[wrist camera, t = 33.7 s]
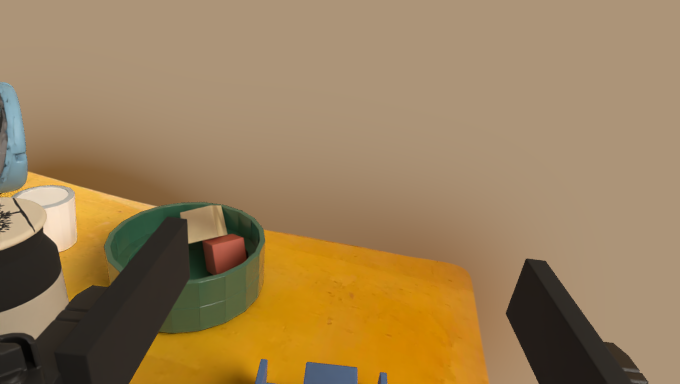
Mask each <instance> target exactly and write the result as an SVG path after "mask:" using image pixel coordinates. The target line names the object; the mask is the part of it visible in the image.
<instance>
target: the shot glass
mask: <svg viewBox="0 0 680 384" xmlns="http://www.w3.org/2000/svg"><path fill="white" fill-rule="evenodd" d="M11 198H20V199H26V200H30V201H33V202H35V203H37V204H39V205H41V206H42V207H43V208H44V209H45V211H46V214H47V219H46V222H45V224H44V225H43V233H45V234H46V235H47V236H48V237H49V238H50V239H51V240H52V241H53V242H55V244H56V245H57V247H58V252H61V251H64V250H66V249H68V248H70V247H72V246H73V245H74V244H75V243H76V242H77V226H76V208H75V192H74V191H73V190H72V189H71V188H68V187H65V186H57V185H47V186H38V187H33V188H28V189H26V190H23V191H20V192H18V193H16V194H15V195H13V196H12V197H11Z"/></svg>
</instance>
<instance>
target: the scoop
mask: <svg viewBox="0 0 680 384" xmlns="http://www.w3.org/2000/svg"><path fill="white" fill-rule="evenodd" d="M267 361H268V360H265V359H261V362H260V366H259V370H258V373H257V377H256V381H255V384H274V383H266V378H267ZM304 384H357V368H356V367H348V366H339V365H330V364H321V363H312V362H307V363H306V369H305V377H304ZM378 384H387V374H386V373H383V372H380V376H379V380H378Z"/></svg>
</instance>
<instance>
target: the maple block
mask: <svg viewBox="0 0 680 384" xmlns="http://www.w3.org/2000/svg"><path fill="white" fill-rule="evenodd" d="M180 215H181V218H183V219H187V225H188V244H190V243H194V242H199V241H203V240H207V239H211V238H216V237H220V236H224V235H227V230H226V225H225V221H224V216H223V212H222V208H221V205H210V206H206V207H202V208H198V209H193V210H189V211H185V212H181V213H180Z"/></svg>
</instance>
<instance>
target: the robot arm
mask: <svg viewBox="0 0 680 384" xmlns="http://www.w3.org/2000/svg"><path fill="white" fill-rule="evenodd" d="M25 152H26V142H25V134H24V127H23V121H22V115H21V110H20V105H19V101H18V97H17V94H16V92H15V90H14V89H13V87H12V86H11V85H10V84H8V83H5V82H0V193H5V192H11V191H15V190H18V189H20V188H21V187H22V186H23V185H24V184H25V182H26V180H27V172H28V166H27V156H26V154H25ZM189 278H190V267H189V246H188V225H187V219H183V218H175V217H166V219H165V220H164V221H163V222H162V223H161V224H160V226H159V227H158V228H157V229H156V230H155V232H154V233H153V234H152V235H151V236H150V238H149V239H148V240H147V241H146V242H145V244H144V245H143V246H142V247H141V248H140V250H139V251H138V252H137V253H136V254H135V256H134V257H133V258H132V259H131V260H130V262H129V263H128V264H127V265H126V266H125V268H124V269H123V270H122V271H121V272H120V274H119V275H118V276H117V277H116V278H115V280H114V281H113V282H112V283H111V284H110V285H109V287H103V286H94V285H92V286H91V287H89V288H87V289H86V290H84V291H82V292H81V293H79V294H77V295H76V296H75V297H74V298H73V299H72V300H71V301H70V302H69V304H68V305H67V306H66V307H65V309H64V310H62V311H61V312H60V313H59V314H58V315H57V317H56V319H55V320H53V321H52V322H51V323H50V324H49V325H48V326H47V327H46V329H45V330H44V331H43V332H42V333H41V334H40V335H39V336H38V337H37V338H36V339H35V340H34V338H33V336H31V335H28V334H26V333H8V334H3V335H0V384H129V382H130V381H131V379H132V377H133V375H134V374H135V372H136V370H137V368H138V367H139V365H140V363H141V361H142V360H143V358H144V356H145V355H146V353H147V351H148V349H149V348H150V346H151V344H152V342H153V341H154V339H155V337H156V335H157V334H158V332H159V330H160V329H161V327H162V325H163V323H164V322H165V320H166V318H167V316H168V315H169V313H170V311H171V309H172V308H173V306H174V304H175V303H176V301H177V299H178V297H179V296H180V294H181V292H182V290H183V289H184V287H185V285H186V283H187V282H188V280H189ZM506 315H507V317H508V319H509V321H510V324H511V326H512V328H513V330H514V332H515V334H516V336H517V338H518V340H519V342H520V345H521V347H522V349H523V351H524V353H525V355H526V357H527V360H528V362H529V363H530V366H531V368H532V370H533V372H534V374H535V376H536V379H537V381H538V383H539V384H648V381H647V380H646V378H645V377H644V376H643V374H642V373H640V372H639V369H638V368H637V366H636V365H635V364H634V363H633V361H632V360H631V359H630V357H629V356H628V355H627V354H626V353H624V352H623V351H622V350H621V349H620V348H618V347H617V346H616V345H615V344H614V343H609V342H603V341H602V339H601V338H600V337H599V335H598V334H597V332H596V331H595V330H594V328H593V327H592V325H591V324H590V322H589V321H588V320H587V318H586V317H585V315H584V314H583V313H582V311H581V310H580V308H579V307H578V306H577V304H576V303H575V301H574V300H573V299H572V298H571V296H570V295H569V293H568V292H567V290H566V289H565V287H564V286H563V285H562V283H561V282H560V280H558V278H557V276H556V275H555V273H554V272H553V271H552V269H551V268H550V267H549V265H548V264H547V262H546V261H542V260H533V259H526V260H525V263H524V266H523V268H522V271H521V274H520V276H519V279H518V282H517V284H516V287H515V290H514V293H513V295H512V298H511V300H510V303H509V306H508V309H507V312H506Z"/></svg>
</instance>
